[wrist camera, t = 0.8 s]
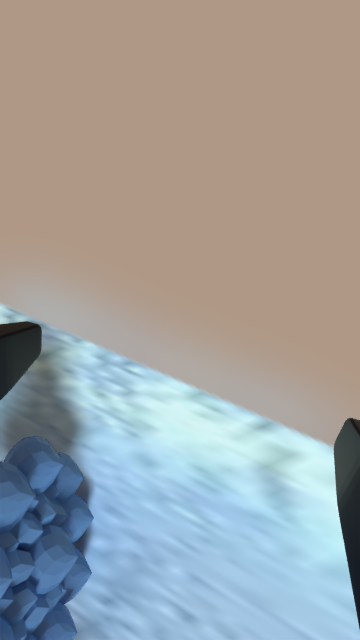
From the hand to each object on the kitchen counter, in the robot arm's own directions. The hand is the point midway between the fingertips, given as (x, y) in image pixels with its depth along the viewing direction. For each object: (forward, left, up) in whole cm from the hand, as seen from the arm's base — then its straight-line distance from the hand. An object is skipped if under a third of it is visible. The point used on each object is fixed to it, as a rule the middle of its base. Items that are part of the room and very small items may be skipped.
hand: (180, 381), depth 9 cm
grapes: (-9, +8, -15) cm, 19 cm away
